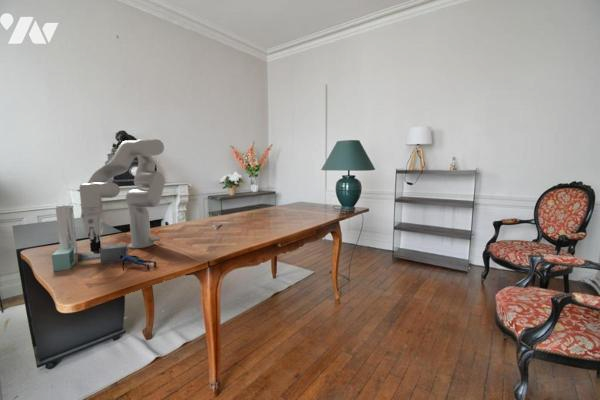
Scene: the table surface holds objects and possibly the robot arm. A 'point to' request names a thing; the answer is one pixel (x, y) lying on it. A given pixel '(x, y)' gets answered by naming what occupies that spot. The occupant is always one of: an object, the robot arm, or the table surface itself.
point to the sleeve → (113, 253)
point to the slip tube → (89, 256)
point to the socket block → (63, 259)
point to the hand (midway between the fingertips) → (95, 249)
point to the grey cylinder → (66, 227)
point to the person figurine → (136, 261)
